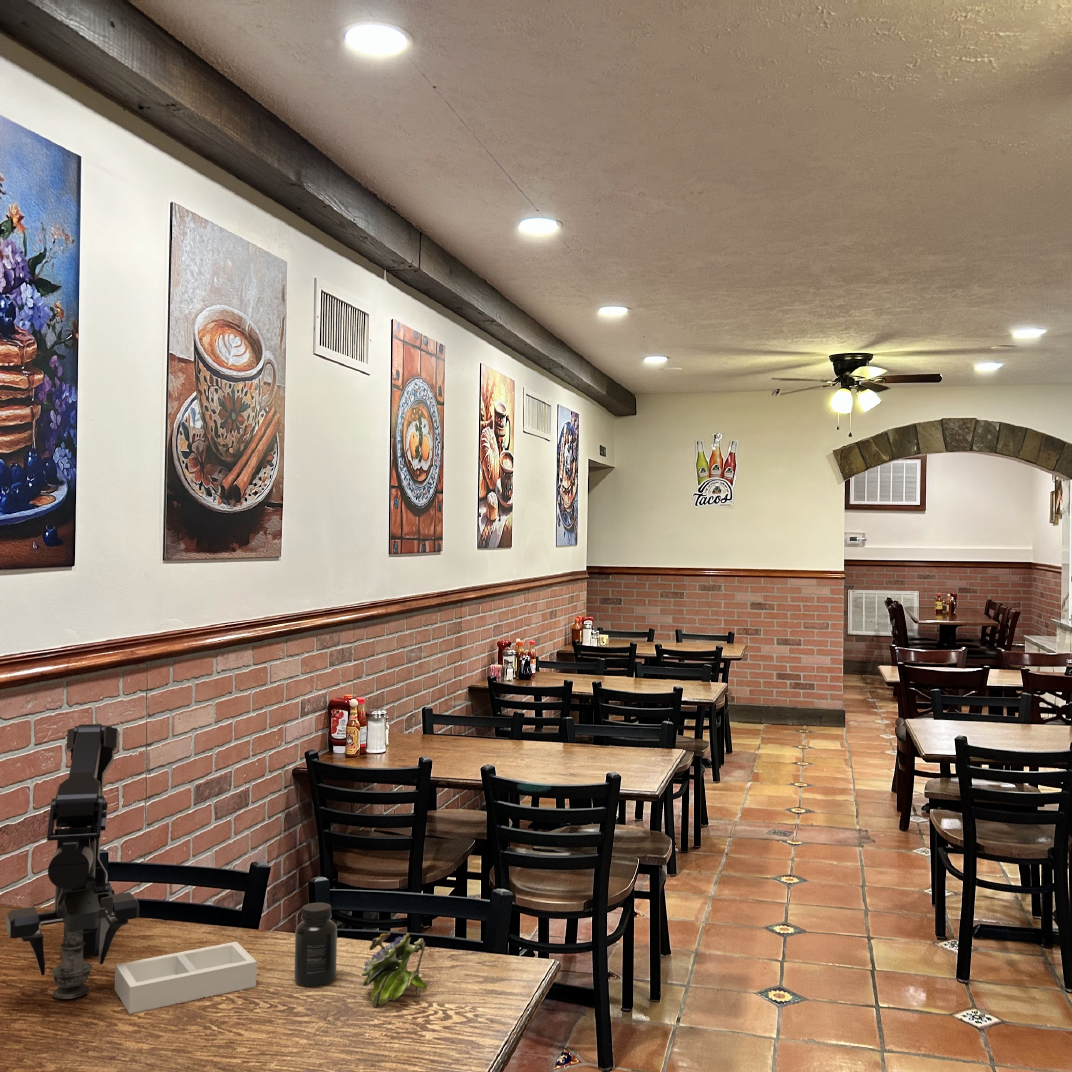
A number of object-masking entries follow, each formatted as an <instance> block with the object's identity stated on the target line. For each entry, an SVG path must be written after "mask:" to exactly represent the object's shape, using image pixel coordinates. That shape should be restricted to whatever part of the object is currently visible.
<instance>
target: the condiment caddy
mask: <svg viewBox="0 0 1072 1072" xmlns="http://www.w3.org/2000/svg"><path fill="white" fill-rule="evenodd" d="M257 964H258V961H257V960H256V959H255V958H254V957H253V956H252V954H251V955H250V953H249V952H248V951H247V950H246V949H245V948H244V947H243V946H242V945H240V944H239V942H238V941H233V942H227V943H222V944H218V945H217V944H216V945H212V946H206V947H205V946H204V947H201V948H195V949H190V950H186V951H180V952H174V953H168V954H163V955H159V956H153V957H147V958H143V959H136V960H132V961H127V962H121V963H116V964H115V965H114V966H115V968H114V971H115V972H114V991H115V993H116V994H117V997H120V998H119V999H120V1001H121V1003H122V1004H123V1006H124V1007H125V1009H126V1010H127V1013H128V1014H129V1015H131V1014H135V1013H140V1012H144V1011H150V1010H155V1009H159V1008H162V1007H167V1006H172V1005H176V1003H177V1004H181V1003H186V1002H187V1003H188V1002H191V1001H195V1000H199V999H200V998H201V999H204V998H203V997H205V998H210V997H214V995H215V996H218V995H224V994H227V993H232V992H237V991H242V990H245V989H251V988H256V987H257V969H258V968H257ZM209 996H210V997H209Z"/></svg>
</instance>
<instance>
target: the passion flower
mask: <svg viewBox="0 0 1072 1072" xmlns="http://www.w3.org/2000/svg"><path fill="white" fill-rule="evenodd" d="M390 936H391V932H388V933H381V934H380V936H378V937H374V938H373V939H372V941H371V944H369V946H368V948H369V950H370V951H372V950H375V949H376V948H377V947H378V946H379V947H380V949H379V950H377V952H376V953H374V954H372V955H371V958H369V959H367V961H365V963H364V968H363V969H362V972H361V976H362V977H365V979H364V980H363V982H362V986H363V987H367V986H369V985H370V984H371V983H372V985H373V987H372V992H371V994H370V996H371V997H370V999H371V1000H370V1001H371V1004H372V1005H373V1007H374V1008H376V1007H377V1002H378V1004H379V1005H380V1006H383V1005H384V1004H386V1003H387V1002H388V1001H390V1000H391V1001H396V1000H397V999H398V998H399V997H400V996H402V995H403V994H404V993H405V990H407V988H408V989H411V987H412V984H413V985H414V986H415V995H416V994H418V995H419V989H422V990H427V985H426V982H424V981H423V979H422V977H420V976H419V975H420V966H421V964H422V958H423V955H424V952H425V949H426V944H427V943H426V942H425V940H424V938H423V937H422V938H418V940H417V941H415V942H414V943H413V944H414V945H411V944H410V941H411V939H412V937H410V933H408V932H407V933H406V934H403V935H402V937H401V936H398V937H396V938H394V940H393V942H390V943H389V944H388V945H385V946H384V945H383V942H384V941H385V940H387V939H388V938H389V937H390ZM420 950H421V952H420ZM419 952H420V956H419V959H418V962H417V966H416V969H415V970H414V972H412V971H410V970H408V967H407V966H408V962H409V960H410V958H411V956H412V954H413V953H419ZM378 999H379V1000H378Z"/></svg>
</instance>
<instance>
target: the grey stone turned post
mask: <svg viewBox="0 0 1072 1072" xmlns="http://www.w3.org/2000/svg"><path fill="white" fill-rule="evenodd" d="M62 939H63V942H62V944H60V949H61V948H62V949H63V951H61V953H62V956H61V962H60V964H59V965H57V966H55V967H54V968H52V969H51V974H52V976H53V980H54V982H55V984H56V985H57V986H58V987H57V988H56V989H55V990H54V991H52V992H53V993H52V996H53V997H54V998H56V999H62V1000H63V999H64V1000H69V999H74V998H80V997H82V996H84V995H86V994H88V993H89V991H90V987H89V985H86V984H85V983H86V981H87V980H88V979H89V977H90V974H91V971H92V969H93V964H91V963H89V962H87V961H85V959H84V958H83V946H84V945H85V944H86V943H85V942H84V941H83V930H78V931H76V932H67V931H66V930H65V928H64V927H63V937H62Z"/></svg>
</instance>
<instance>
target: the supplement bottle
mask: <svg viewBox="0 0 1072 1072" xmlns="http://www.w3.org/2000/svg"><path fill="white" fill-rule="evenodd" d="M300 918H301V922H300V923H298V925H297V926H296V928H295V933H294V937H295V938H294V970H293V971H294V972H293V973H294V980H295V982H296V984H297V985H300V986H301V987H307V988H316V987H323V986H326V985H329V984H331V983H332V982H334V980H335V979H336V977H337V955H338V953H337V951H338V950H337V949H338V948H337V947H338V943H337V942H338V927H337V924H336V923H335V922H334V921H333V920H331V919H332V906H331V904H330V903H326V902H312V903H307V904H305V905H303V906H302V907H301V916H300Z"/></svg>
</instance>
